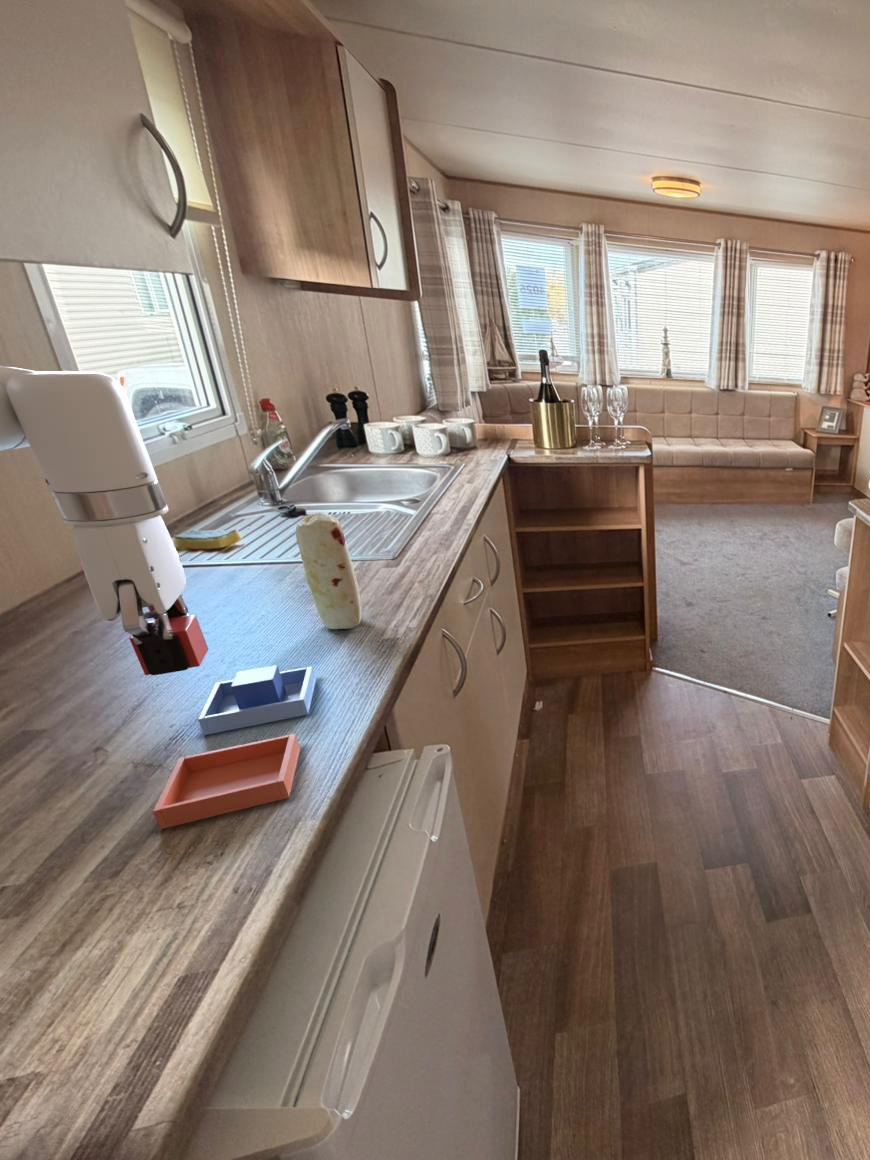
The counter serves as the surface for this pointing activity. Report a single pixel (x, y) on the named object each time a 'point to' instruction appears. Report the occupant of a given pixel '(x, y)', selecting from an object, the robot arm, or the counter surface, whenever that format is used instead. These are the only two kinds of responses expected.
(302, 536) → the food model
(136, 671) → the counter surface
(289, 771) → the red tray
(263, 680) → the blue block
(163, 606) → the robot arm
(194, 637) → the red block
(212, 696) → the blue tray
